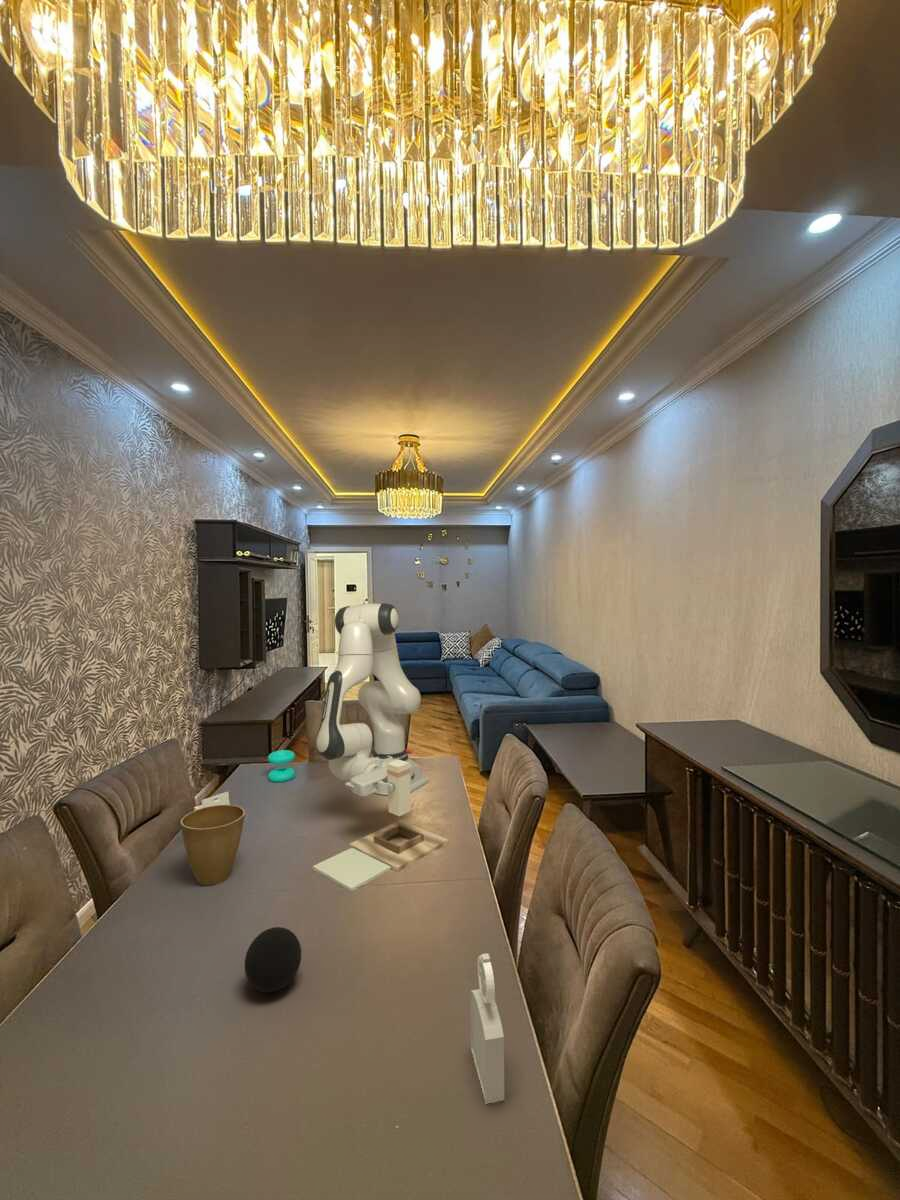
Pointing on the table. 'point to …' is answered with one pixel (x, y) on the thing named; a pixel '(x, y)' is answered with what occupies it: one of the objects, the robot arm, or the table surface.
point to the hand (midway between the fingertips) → (401, 784)
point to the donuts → (281, 772)
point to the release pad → (351, 869)
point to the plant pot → (212, 841)
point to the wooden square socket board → (404, 853)
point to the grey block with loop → (487, 1034)
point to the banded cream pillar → (399, 787)
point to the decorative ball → (273, 959)
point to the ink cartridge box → (215, 801)
